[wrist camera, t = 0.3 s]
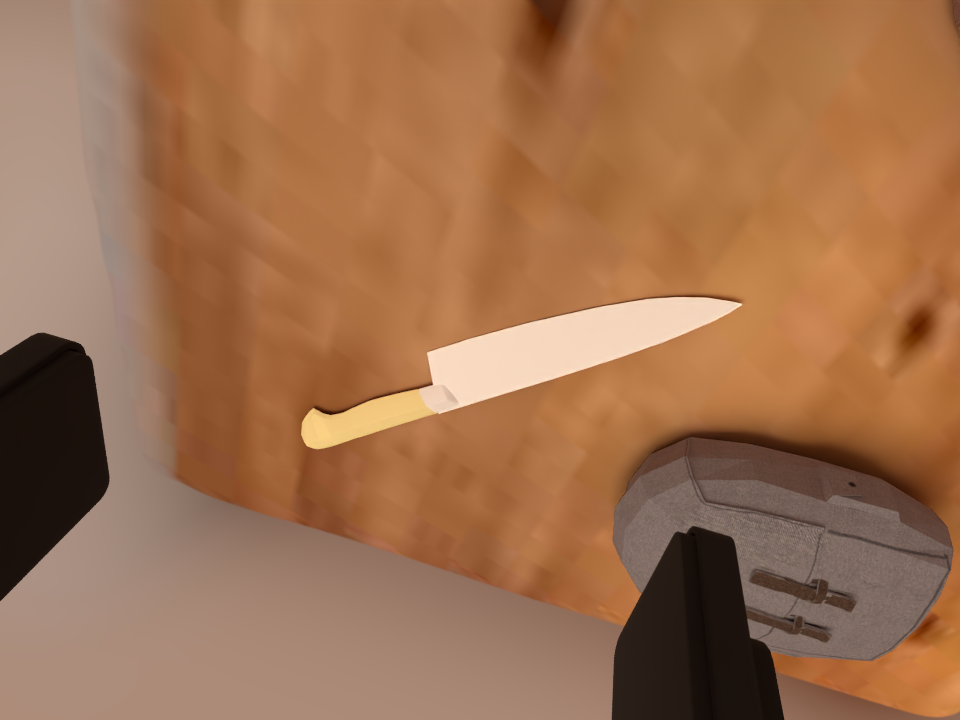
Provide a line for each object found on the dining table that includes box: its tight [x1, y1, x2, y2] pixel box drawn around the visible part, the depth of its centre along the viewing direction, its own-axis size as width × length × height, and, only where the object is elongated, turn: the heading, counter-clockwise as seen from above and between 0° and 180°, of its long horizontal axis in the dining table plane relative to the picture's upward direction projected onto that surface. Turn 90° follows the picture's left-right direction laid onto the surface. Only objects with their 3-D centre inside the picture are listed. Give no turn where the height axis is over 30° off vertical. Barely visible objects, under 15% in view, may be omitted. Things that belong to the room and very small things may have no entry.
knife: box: [301, 297, 743, 449], centre depth 45 cm, size 1×33×5 cm
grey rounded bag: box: [613, 437, 953, 661], centre depth 44 cm, size 15×8×20 cm
